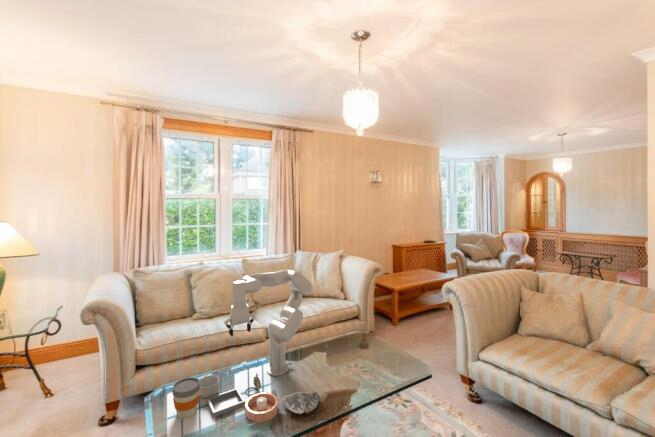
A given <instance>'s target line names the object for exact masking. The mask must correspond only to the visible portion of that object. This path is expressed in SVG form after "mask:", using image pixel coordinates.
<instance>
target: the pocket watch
mask: <svg viewBox="0 0 655 437" xmlns="http://www.w3.org/2000/svg"><path fill="white" fill-rule="evenodd" d="M258 376H259V374H258V372H255V376H254V377H253V385H254V386H251V387H248V388H246V389H245V391H244V392H245V395H246V396H252V395H255V394H257V393H258V390H260V388H261V387H262V385H261V380H260V378H259V377H258ZM249 389H255V390H256V392H255V393H251V394H249V393H247V391H248V390H249Z"/></svg>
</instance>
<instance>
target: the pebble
mask: <svg viewBox="0 0 655 437" xmlns="http://www.w3.org/2000/svg"><path fill="white" fill-rule="evenodd" d="M266 410H267V399H266V398H265V397H260V398H258V399H257V412H264V411H266Z"/></svg>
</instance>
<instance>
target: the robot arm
mask: <svg viewBox="0 0 655 437" xmlns="http://www.w3.org/2000/svg"><path fill="white" fill-rule="evenodd" d="M311 282H312V281H310V280H309V279H307V277H306V276H304V275H303V274H302V273H301V272H299V271H296V270H293V269H290V268H289V269H288V268H287V269H282V270H278V271H273V272H261V273H252V274H247V275H244V276H243V277H242V278H240V279H239V280H236V281H233V282H232V288H231V289H232V305H231V307H230V311H229V312H230V313H229V318H227V319H226V320H224V321H223V323H224V325H225V326H226V327H227V329H228V333H229V335H230V336H231V337H233V336H234V329H233V328H234V327H235V326H239V325H243V324H246V331H247V333H250V332H251V329H252V324H253V322H254V320H255V318H256V315H255V314H252V313H250V307H249V304H248V303H250V299H248V296H247V295H248V294H255V293H258V292H260V290H261V289H262V287H268V288H270V287H271V288H274V287H279V286H282V285H288V284H289V288H290V294H289V298H288V300H287V301H286V302H285V304H284V306H283V307H282V309H281V310H280V311H279V318H280V319H281V320H279V319H274V320H271V321H270V323H269V324H268V326H267V327H268V328H267V332H268V339H269V366H268V367H267V369H266V370H267V371H266V372H267V374H269V376H273V377H280V376H283V375H285V374H287V372H288V369H289V368H288V366H291V365H293V361H292V360H290V361H289V360H286V342H289V341H291V340H292V339H293V337H294V336H295V334H296V333H297V331H298V330H299V328H300V326H301V324H302V322H303V320H304V313H303V311H302V310H301V309H300V308H301V305H302V303H303V295H305V296H306V295H310V294H311V293H312V291H313V284H312V283H311ZM282 320H283V321H285V322H286V323H285V322H283V321H282ZM229 322H230V323H229Z"/></svg>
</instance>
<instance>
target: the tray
mask: <svg viewBox="0 0 655 437" xmlns="http://www.w3.org/2000/svg"><path fill="white" fill-rule="evenodd" d="M206 404H207V406H208V409H209V411H210V413H211V416H212V418H216V417H218V416H222V415H223V414H226V413H230V412H233V411H235V410H238V409H240V408H243V407H245V404H246V400H245V398H244V397H243V395H242V394H241V392H240V390H239V388H237V387H235V388H233V389H230V390H227V391H224V392H221V393H217V394H216V395H214V396H212V397H209V398H206Z"/></svg>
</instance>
